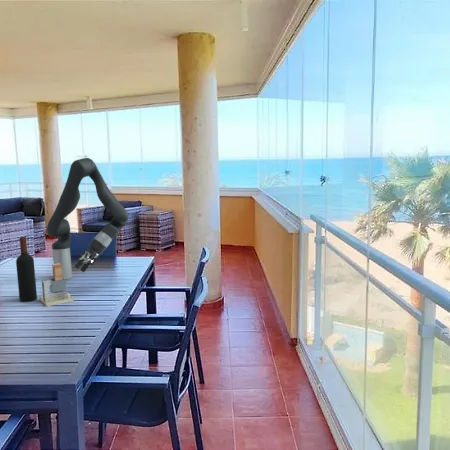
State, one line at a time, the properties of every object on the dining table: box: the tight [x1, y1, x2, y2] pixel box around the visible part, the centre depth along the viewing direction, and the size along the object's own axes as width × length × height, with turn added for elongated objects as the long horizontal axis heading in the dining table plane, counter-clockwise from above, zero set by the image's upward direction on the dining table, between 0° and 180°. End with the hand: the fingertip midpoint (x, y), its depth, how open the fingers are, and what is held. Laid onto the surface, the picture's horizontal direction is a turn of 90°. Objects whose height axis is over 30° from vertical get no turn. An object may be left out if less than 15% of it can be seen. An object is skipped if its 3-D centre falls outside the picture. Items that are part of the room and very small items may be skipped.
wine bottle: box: [15, 236, 38, 303], centre depth 201 cm, size 8×8×30 cm
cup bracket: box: [39, 278, 74, 307], centre depth 200 cm, size 12×12×10 cm
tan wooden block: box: [51, 263, 63, 281], centre depth 200 cm, size 3×3×12 cm
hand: (78, 269), depth 206 cm, fingers open, 8 cm apart
